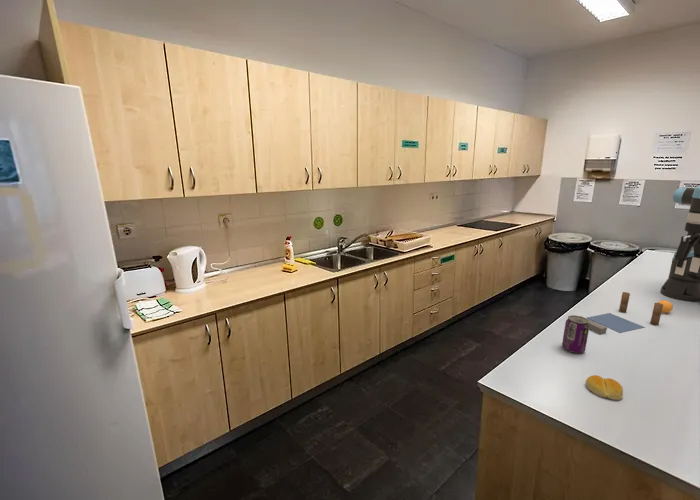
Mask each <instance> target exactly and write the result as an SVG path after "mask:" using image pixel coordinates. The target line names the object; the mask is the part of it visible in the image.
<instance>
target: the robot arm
mask: <svg viewBox="0 0 700 500" xmlns="http://www.w3.org/2000/svg"><path fill="white" fill-rule="evenodd" d="M672 199H673V202H674V203H676V204H679V205H688V206H689V210H688V214H687V215H686V216H687V218H686V219H687V220H686V223H685V227H684V231H685V232H687V234H686V235H685V236H684V235H682V236H681V237H680V242H679V245H678V247H677V250H676V251H675V252H674V254H673V257H672V260H671V264H670V269H669V273H668V278H667V279H666V280H665V282H664V284H663V285H661V287H660V294H662V295H664V296H665V297H668V298H671V299H677V300H680V301H687V302H700V185H697V186H696V187H694V188H693V187H680V188H677V189H675V191H674V193H673V196H672ZM692 249H693V250H692Z"/></svg>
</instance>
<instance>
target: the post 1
mask: <svg viewBox="0 0 700 500" xmlns="http://www.w3.org/2000/svg"><path fill="white" fill-rule="evenodd" d="M630 296H631V293H630V292H627V291H622V293H621V299H620V302H619V303H620V304H619V308H618V312H619V313H622V314H626V313H627V310H628V304H629V302H630V301H629V300H630Z"/></svg>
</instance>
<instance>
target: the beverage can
mask: <svg viewBox="0 0 700 500" xmlns="http://www.w3.org/2000/svg"><path fill="white" fill-rule="evenodd" d="M581 316H582V315H573V314H572V315H571V314H570V315H567V319H566V320H565V323H564V331H563V336H562V343H561V346H562V347H563V348H564V350H565V349H566V350H567V351H569V352H570V351H571V353H574V354H575V353H576V354H580V353H585V352H586V348H587V344H588V343H587V342H588V337H589V331H590V330H589V321H588V319H587V317H584V316H582V317H581Z"/></svg>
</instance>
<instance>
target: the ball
mask: <svg viewBox="0 0 700 500" xmlns="http://www.w3.org/2000/svg"><path fill="white" fill-rule="evenodd" d="M657 303H661V304H663V308H662V312H661V314H662V313H664V314H667V313H671V312H672V311H673V307H674V306H673V304H672V303H671V302H670V301H668V300H663V299H662V300H658V302H657Z"/></svg>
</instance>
